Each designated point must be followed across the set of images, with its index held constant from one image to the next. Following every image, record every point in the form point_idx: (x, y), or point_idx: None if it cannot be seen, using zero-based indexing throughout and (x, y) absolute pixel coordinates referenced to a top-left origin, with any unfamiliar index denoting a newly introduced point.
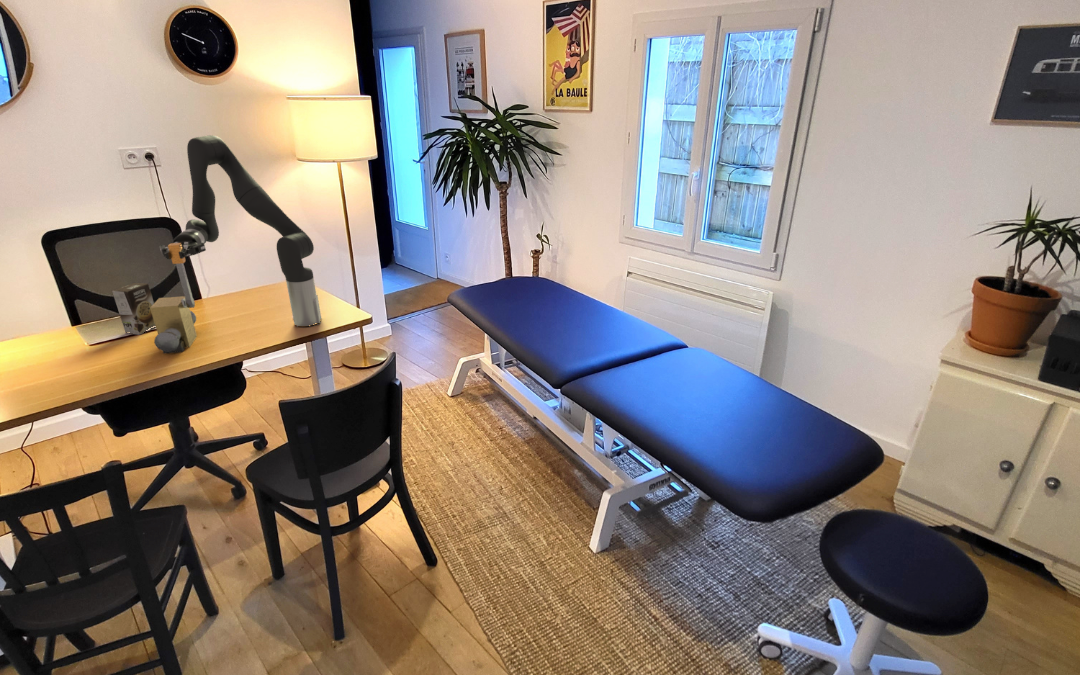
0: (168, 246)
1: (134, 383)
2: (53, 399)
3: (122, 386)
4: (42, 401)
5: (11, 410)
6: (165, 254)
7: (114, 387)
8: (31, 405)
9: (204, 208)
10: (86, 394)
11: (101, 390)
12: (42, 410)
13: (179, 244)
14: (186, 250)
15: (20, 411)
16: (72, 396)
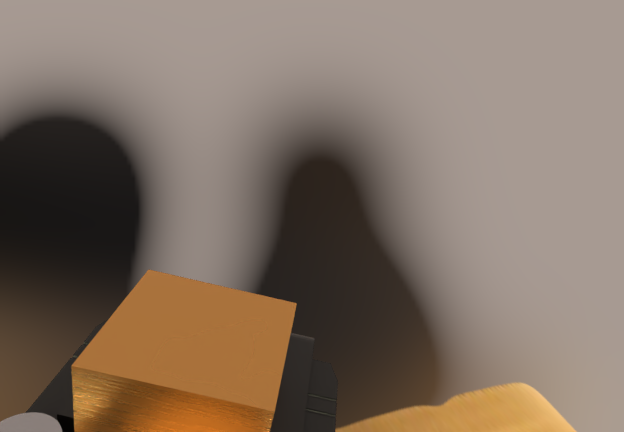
0: (287, 313)
1: (352, 425)
2: (503, 426)
3: (375, 422)
4: (522, 427)
5: (556, 414)
6: (320, 370)
7: (393, 425)
8: (531, 419)
9: None
10: (442, 418)
11: (417, 423)
12: (490, 387)
13: (125, 302)
14: (37, 401)
15: (533, 402)
16: (469, 422)
